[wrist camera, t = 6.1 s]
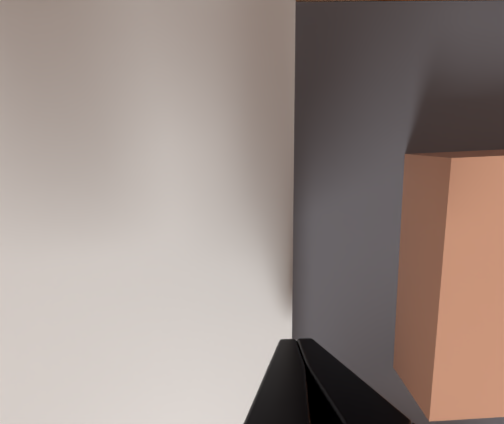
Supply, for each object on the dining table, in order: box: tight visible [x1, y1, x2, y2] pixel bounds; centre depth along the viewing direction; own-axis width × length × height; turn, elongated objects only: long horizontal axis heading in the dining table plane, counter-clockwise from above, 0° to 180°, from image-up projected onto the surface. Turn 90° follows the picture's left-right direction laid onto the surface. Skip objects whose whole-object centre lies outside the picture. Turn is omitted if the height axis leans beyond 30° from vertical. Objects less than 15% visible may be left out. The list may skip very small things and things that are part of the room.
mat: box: [292, 0, 504, 424], centre depth 14 cm, size 20×16×1 cm
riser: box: [0, 0, 296, 424], centre depth 11 cm, size 22×14×4 cm, turn 1°
